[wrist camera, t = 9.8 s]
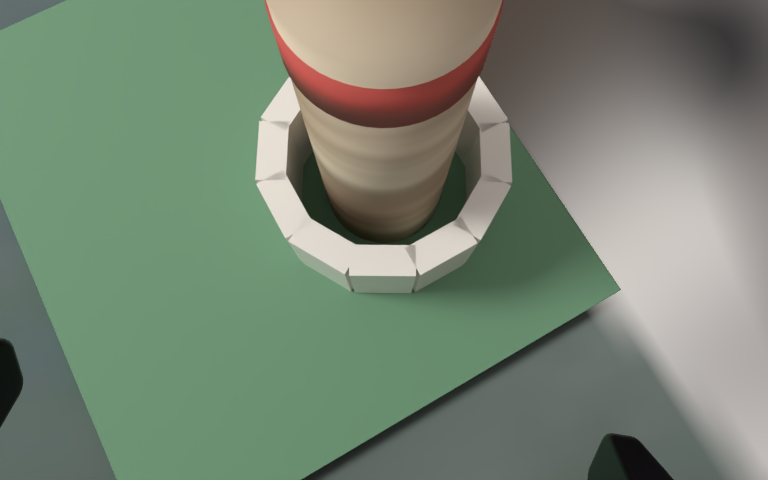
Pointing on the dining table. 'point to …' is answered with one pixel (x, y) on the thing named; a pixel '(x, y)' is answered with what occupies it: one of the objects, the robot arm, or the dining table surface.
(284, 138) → the cup
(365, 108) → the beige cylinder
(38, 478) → the dining table surface
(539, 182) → the putting mat
